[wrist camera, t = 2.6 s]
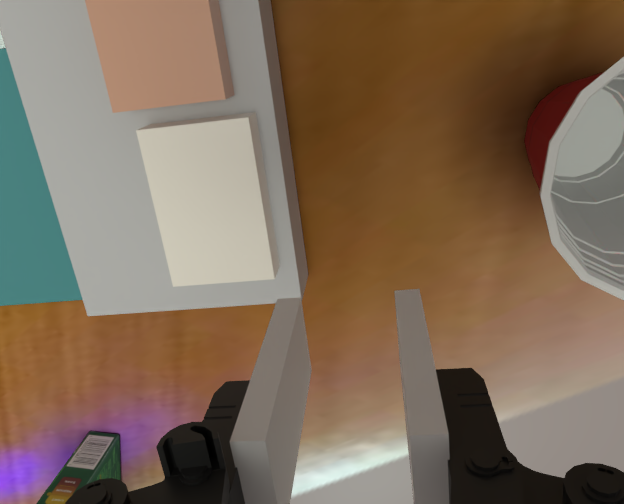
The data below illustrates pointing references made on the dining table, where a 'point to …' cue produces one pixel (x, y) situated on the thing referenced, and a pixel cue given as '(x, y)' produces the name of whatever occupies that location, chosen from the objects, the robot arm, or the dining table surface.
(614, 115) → the plastic cup
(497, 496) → the robot arm
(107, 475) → the coffee box
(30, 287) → the mat
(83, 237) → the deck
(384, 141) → the dining table surface
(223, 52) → the salmon pink block
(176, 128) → the cream rectangular block
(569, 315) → the dining table surface
